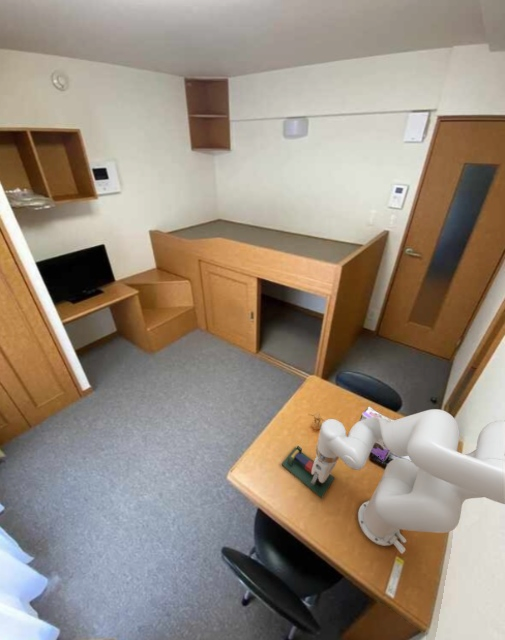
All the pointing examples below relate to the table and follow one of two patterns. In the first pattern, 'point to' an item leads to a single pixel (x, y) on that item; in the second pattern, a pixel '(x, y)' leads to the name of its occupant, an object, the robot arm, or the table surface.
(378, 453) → the candy box
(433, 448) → the robot arm
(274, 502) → the table surface
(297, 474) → the stand
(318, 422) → the figurine
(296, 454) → the toy soldier
